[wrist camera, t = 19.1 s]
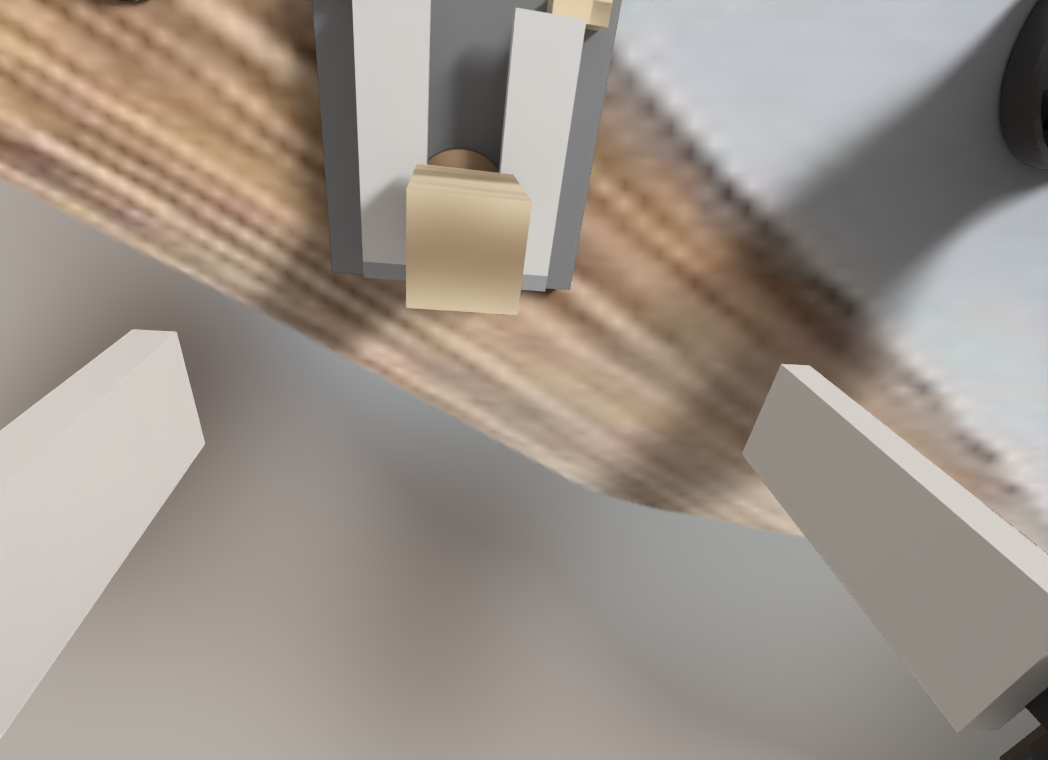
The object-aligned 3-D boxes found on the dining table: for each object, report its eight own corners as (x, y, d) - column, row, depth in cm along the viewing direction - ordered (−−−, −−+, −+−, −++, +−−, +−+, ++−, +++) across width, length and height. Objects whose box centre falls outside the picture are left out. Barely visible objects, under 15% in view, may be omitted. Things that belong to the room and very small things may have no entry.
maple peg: (412, 141, 29) (393, 173, 19) (513, 154, 30) (545, 190, 20) (411, 243, 32) (394, 317, 22) (503, 251, 33) (527, 325, 23)
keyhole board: (289, -428, 19) (244, -567, 15) (668, -313, 22) (719, -405, 18) (336, 264, 33) (320, 290, 29) (565, 282, 36) (580, 308, 32)
